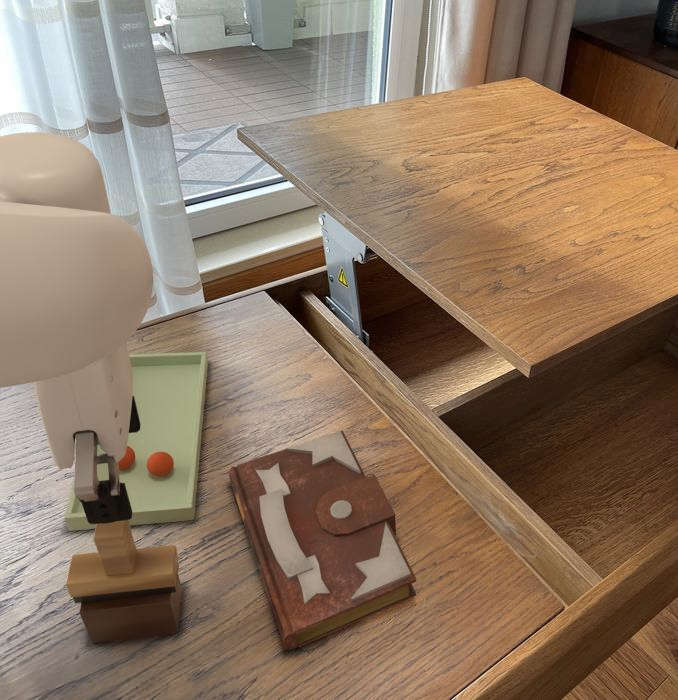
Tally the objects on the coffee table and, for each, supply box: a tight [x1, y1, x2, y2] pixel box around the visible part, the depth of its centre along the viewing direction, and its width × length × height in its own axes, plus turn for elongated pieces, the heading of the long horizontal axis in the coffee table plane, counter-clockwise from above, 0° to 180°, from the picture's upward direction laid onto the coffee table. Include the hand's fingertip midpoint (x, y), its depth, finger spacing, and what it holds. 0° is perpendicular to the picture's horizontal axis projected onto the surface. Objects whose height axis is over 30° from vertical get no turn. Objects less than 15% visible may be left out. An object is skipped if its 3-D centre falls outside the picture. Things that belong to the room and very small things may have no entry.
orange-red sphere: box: [147, 452, 174, 477], centre depth 86 cm, size 3×3×3 cm
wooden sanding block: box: [65, 520, 180, 604], centre depth 67 cm, size 3×9×10 cm, turn 102°
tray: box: [63, 351, 209, 532], centre depth 91 cm, size 27×13×2 cm, turn 12°
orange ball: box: [118, 446, 135, 470], centre depth 86 cm, size 3×3×3 cm
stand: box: [79, 574, 183, 644], centre depth 72 cm, size 5×8×6 cm, turn 102°
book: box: [227, 429, 417, 651], centre depth 82 cm, size 23×16×5 cm
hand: (116, 472), depth 61 cm, fingers open, 9 cm apart
